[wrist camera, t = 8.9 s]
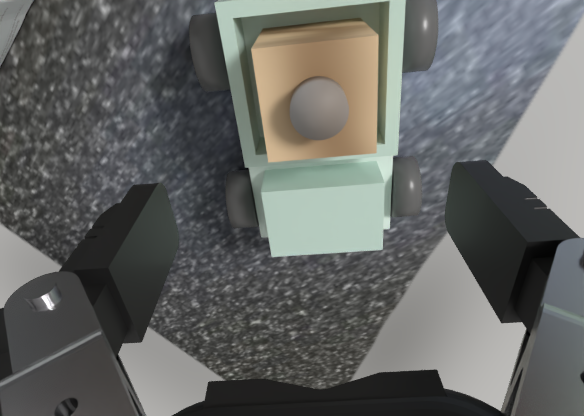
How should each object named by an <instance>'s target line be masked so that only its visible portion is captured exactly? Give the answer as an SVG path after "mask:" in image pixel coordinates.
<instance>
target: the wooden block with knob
mask: <svg viewBox="0 0 584 416" xmlns="http://www.w3.org/2000/svg"><path fill="white" fill-rule="evenodd" d="M378 37H379V35H378V34H377V33H376V32H375V31H374V30H373V29H371V28H370V27H369V26H368V25H367V24H366V23H365V22H364V21H363V20H362V19H361V18H352V19H343V20H334V21H325V22H316V23H307V24H299V25H290V26H281V27H272V28H263V29H262V31H261V33H260V34H259V36H258V38H257V40H256V41H255V43H254V45H253V47H252V48H251V52H252V58H253V65H254V71H255V78H256V84H257V91H258V98H259V104H260V111H261V117H262V124H263V131H264V137H265V144H266V150H267V157H268V163H269V162H281V161H292V160H304V159H316V158H327V157H339V156H351V155H362V154H374V153H377V97H378Z"/></svg>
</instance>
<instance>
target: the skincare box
mask: <svg viewBox="0 0 584 416" xmlns="http://www.w3.org/2000/svg"><path fill="white" fill-rule="evenodd" d="M33 1H34V0H0V66H1V64H2V63H3V61H4V59H5V57H6V55H7V53H8V51H9V49H10V47H11V45H12V43H13V41H14V39H15V37H16V35H17V33H18V31H19V29H20V27H21V25H22V23H23V20H24V18H25V15H26V13H27V11H28V9H29V7H30V6H31V4H32V2H33Z"/></svg>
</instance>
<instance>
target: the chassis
mask: <svg viewBox="0 0 584 416" xmlns="http://www.w3.org/2000/svg"><path fill="white" fill-rule="evenodd" d="M215 8H216V13H210V14H201V15H193V16H192V17H191V20H190V25H189V40H190V49H191V55H192V60H193V65H194V69H195V72H196V75H197V78H198V81H199V83H200V85H201V87H202V88H203V90H204V91H206V92H212V91H222V90H231V94H232V99H233V105H234V110H235V116H236V121H237V126H238V132H239V137H240V142H241V148H242V153H243V159H244V164H245V168H248V167H249V170H238V171H229V172H228V174H227V178H226V205H227V212H228V217H229V220H230V223H231V225H232V227H233V228H248V227H258V226H259V228H260V233H261V238H263V237H269V243H270V249H271V255H272V257H278V256H294V255H309V254H324V253H340V252H355V251H371V250H383V229H390V216H391V217H402V216H417V215H418V214H419V212H420V209H421V203H422V181H421V174H420V169H419V165H418V162H417V160H416V158H415V157H414V156H409V157H396V158H393V155H398V139H399V119H400V100H401V81H402V73H407V72H417V71H426V70H428V69H429V68H430V66H431V64H432V62H433V59H434V55H435V51H436V45H437V38H438V9H437V2H436V0H218V1H217V2H215ZM352 18H361V19H362V20H363V21H364V22H365V23H366V24H367V25H368V26H369V27H370V28H371V29H373V30H374V31H375V32H376V33H377V34H378V35H379V37H378V97H377V153H374V154H362V155H351V156H339V157H327V158H316V159H304V160H292V161H281V162H269V163H268V157H267V150H266V144H265V137H264V131H263V124H262V117H261V111H260V104H259V98H258V91H257V84H256V78H255V71H254V65H253V58H252V52H251V48H252V47H253V45H254V43H255V41H256V40H257V38H258V36H259V34H260V33H261V31H262V29H263V28H272V27H281V26H290V25H299V24H307V23H316V22H325V21H334V20H343V19H352Z"/></svg>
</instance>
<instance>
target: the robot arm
mask: <svg viewBox="0 0 584 416" xmlns="http://www.w3.org/2000/svg"><path fill="white" fill-rule="evenodd" d="M445 223H446V228H447V231H448V233H449V234H450V236H451V238H452V240H453V242H454V243H455V245H456V247H457V248H458V250H459V252H460V253H461V255H462V257H463V259H464V260H465V262H466V264H467V265H468V267H469V269H470V270H471V272H472V274H473V275H474V277H475V279H476V281H477V282H478V284H479V286H480V287H481V289H482V291H483V293H484V294H485V296H486V298H487V299H488V301H489V303H490V305H491V306H492V308H493V310H494V311H495V313H496V315H497V316H498V318H499V320H500V321H501V323H513V322H523V324H524V325H525V327H526V328H527V329H526V331H525V334H524V337H523V340H522V343H521V346H520V349H519V353H518V356H517V359H516V363H515V366H514V369H513V373H512V376H511V379H510V383H509V387H508V390H507V393H506V396H505V399H504V403H503V406H502V408H501V411H499V410H498V409H496V408H494V407H492V406H490V405H488V404H486V403H485V402H483V401H481V400H478V399H476V398H473V397H471V396H468V395H466V394H463V393H460V392H456V391H453V390H449V389H444V388H443V385H442V382H441V379H440V377H439V374H438V371H437V370H420V371H400V372H381V373H377V374H374V375H370V376H367V377H364V378H361V379H358V380H354V381H351V382H348V383H345V384H341V385H338V386H335V387H332V388H328V389H321V390H320V389H313V388H308V387H303V386H298V385H293V384H288V383H283V382H278V381H273V380H268V379H249V380H230V381H211V382H208V386H207V391H206V397H205V401H202V402H199V403H196V404H194V405H192V406H189V407H187V408H185V409H183V410H181V411H179V412H178V413H176V414H174V415H172V416H584V238H580V237H579V236H578V235H577V234H576V233H575V232H574V231H572V230H571V229H570V228H569V227H568V226H567V225H566V224H565V223H564V222H563V221H562V220H561V219H560V218H559V217H558V216H557V215H555V213H554V212H553V211H551V210H550V209H547V206H546V205H545V204H544V203H543V202H542V201H541V200H540V199H537V196H536V195H535V194H533V192H531V191H530V190H529V189H528V188H527V187H526V186H525V185H523V184H521V183H519V182H517V181H515V180H513V179H511V178H509V177H503V176H502V175H501V174H500V173H499V172H498V171H497V170H496V169H495V168H494V167H493V166H492V165H491V164H490V163H489V162H488V161H486V160H480V161H467V162H457V163H455V164H454V166H453V168H452V172H451V178H450V184H449V190H448V196H447V202H446V209H445ZM178 245H179V234H178V228H177V225H176V221H175V218H174V215H173V211H172V208H171V204H170V201H169V198H168V194H167V191H166V189H165V187H164V185H163V184H162V183H154V184H141V185H133V186H132V187H131V189H130V190H129V191H128V193H127V194H126V196H125V197H124V199H123V200H122V201H121V203H117V204H115V205H114V206H112V207H111V208H109V209H108V210H107V211H105V212H104V213H102V214H101V215H100V217H99V218H98V219H97V221H96V222H95V223H94V225H93V226H92V229H90V230H89V231H88V233H87V234H86V235H85V239H83V240H82V241H81V242H80V244H79V245H78V246H77V248H76V249H75V250H74V252H73V253H72V254H71V256H70V257H69V258H68V260H67V261H66V262H65V264H64V265H63V266H62V268H61V269H60V271H59V272H53V273H49V274H45V275H42V276H40V277H37V278H35V279H33V280H31V281H29V282H28V283H26V284H24V285H23V286H21V287H20V288H19V289H18V290H16V291H15V292H14V293H13V294H12V295H11V296H10V298H9V299H8V300H7V302H6V304H5V306H4V308H1V309H0V416H146V414H145V412H144V409H143V407H142V405H141V403H140V401H139V398H138V396H137V394H136V392H135V390H134V387H133V385H132V383H131V381H130V378H129V376H128V374H127V372H126V370H125V367H124V365H123V363H122V361H121V359H120V357H119V355H118V353H119V351H120V348H121V346H122V344H123V343H137V342H138V343H139V342H142V340H143V337H144V335H145V332H146V330H147V327H148V325H149V322H150V320H151V317H152V314H153V312H154V309H155V307H156V304H157V301H158V299H159V296H160V294H161V291H162V289H163V286H164V283H165V281H166V278H167V276H168V273H169V270H170V268H171V265H172V263H173V260H174V258H175V255H176V252H177V250H178Z"/></svg>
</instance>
